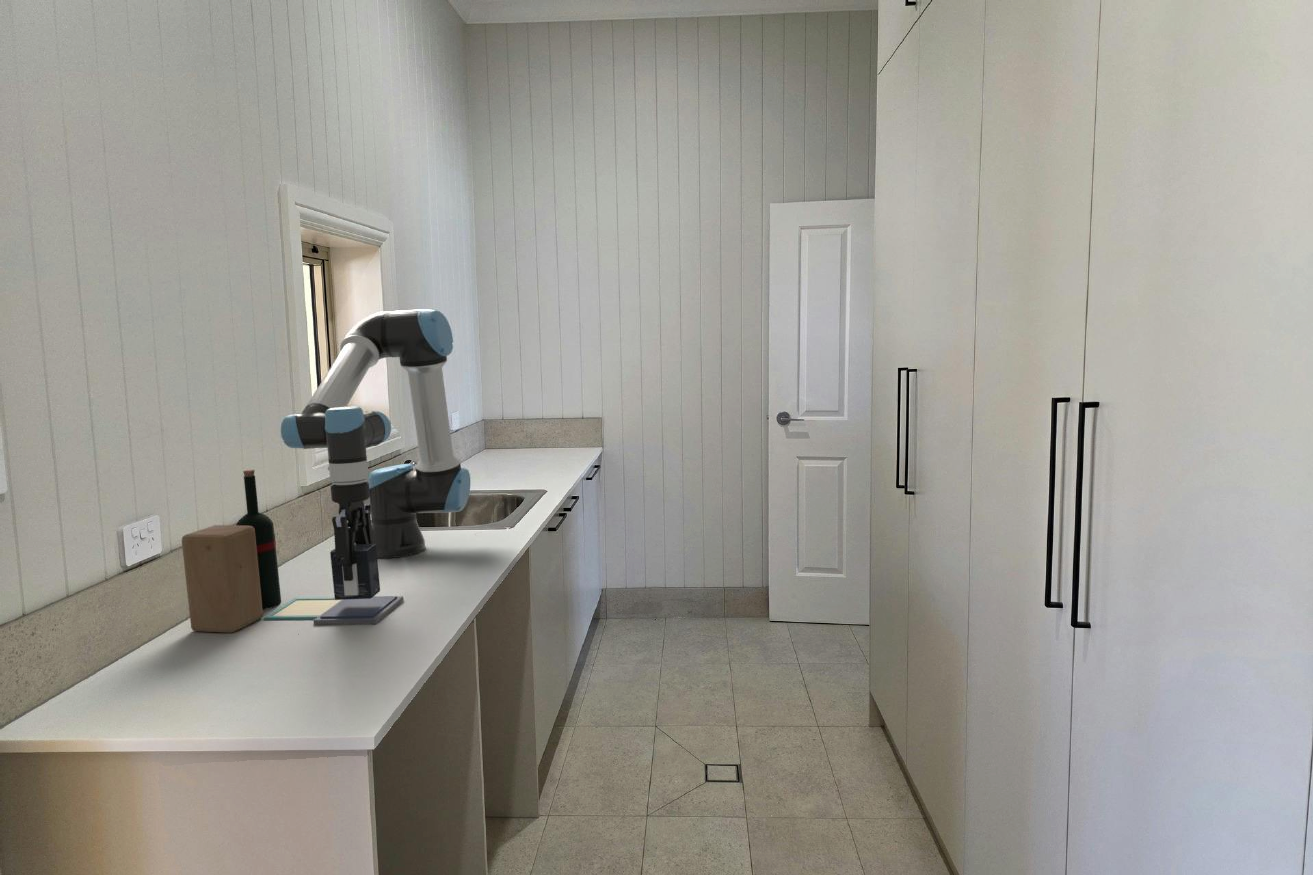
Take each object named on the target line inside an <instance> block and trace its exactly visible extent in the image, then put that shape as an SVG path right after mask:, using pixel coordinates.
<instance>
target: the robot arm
mask: <svg viewBox="0 0 1313 875" xmlns="http://www.w3.org/2000/svg"><path fill="white" fill-rule="evenodd" d="M453 343H454V338H453V333H452V328H451V325H450V323H449V320H448V319H447V317H446V316H445V315H444V313H442V312H441V311H439V310H437V309H423V308H422V309H421V308H419V309H408V310H394V311H391V310H386V311H379V312H376V313H373V314H371V315H369V316H368V317H365V318H364V319H362V320H361V321H359V322H358V323H357V324H356V325H355V326H353V327H352V329H350V330H349V332H348V333H346V335H345V336H344V337H343V340H342V341H341V343H340V347H339V348H340V349H339V350H340V351H339V353H338V355H337V357H336V358H335V360H334V361H333V363H332V364H331V366H330V367H329V370H328V371H327V373H326V374H325V376H324V378H323V379H322V380H321V382H320V384H319V385H318V387H317V388H316V390H315V391H314V393H313V395H312V396H311V398H310V400H309V401H308V402H307V404H306V406H305V407H304V408H303V410H302V411H301V413H299V414H298V413H294V414H288V415H286V416H285V417H284V418H283V419H282V421H281V425H280V436H281V439H282V440H283V443H284V444H285V446H287V447H288V448H291V449H303V450H308V449H327V458H328V459H327V460H328V467H327V471H329V481H330V482H331V483H332V484H331V485H330V496H331V501H332V502H333V503H337V504H338V515H337V516H332V518H331V522H332V526H333V534H334V536H333V537H334V549H335V554H336V564H337V565H342V569H343V581H344V593H345V596H347V595H359V589H358V577H357V564H354V552H355V544H376V549H377V559H381V558H382V559H389V558H390V559H391V558H401V557H407V556H411V555H415V554H418V553H420V552H423V551H424V550H426V542H425V538H424V535H423V533H422V530H421V528H420V526H419V524H418V521H417V514H424V513H425V514H428V513H429V514H431V513H433V514H434V513H435V514H436V513H437V514H439V513H441V514H443V513H444V514H448V513H457V512H458V513H459V512H461V511H462V510H463V509H464V508H465V507H466V505H467V502H468V500H469V496H470V494H471V493H470V492H471V491H470V490H471V473H470V471H469V469H467V468H465V467H461V460H460V459H459V458H458V457H457V456H455V455H454V451H453V442H452V434H451V426H450V419H449V418H450V417H449V410H448V403H447V397H446V396H447V395H446V388H445V382H444V373H443V367H444V365H446V363H447V362H448V356H449V355H451V354H452V352H453V349H454V348H453V347H454V344H453ZM384 358H385V359H386V358H398V359H399V363H400V367H401V368H403V369H404V370H405V371H406V372H407V376H408V384H409V390H410V398H411V404H412V411H413V418H414V426H415V431H416V439H417V447H418V453H419V460H418V462H417V463H416V465H415V468H414V466H413V464H412V463H403V464H396V465H391V466H386V467H382V468H377V469H375V470H373V471H371V472H370V473H369V467H368V457H367V456H368V455H367V448H371V447H375V446H376V447H377V446H378V445H380V444H382V443H384V442H385V441H387V440H388V439H389V437H390V435H391V432H392V425H391V420H390V418H389V417H388V416H387V415H386V414H385V413H384V412H381V411H377V410H367V411H363V409H362V408H361V407H360V406H354V405H353V406H349V403H350V401H351V400H352V398H353V396H354V395H355V393H356V392H357V390H358V388H359V386H360V385H361V382H362V381H363V379H364V377H365V376H366V374H367V372H368V371H369V369H370V368H373V367H374V366H376V365H377V364H378V362H379V360H381V359H384ZM368 499H369V504H365V502H364V501H366V500H368Z"/></svg>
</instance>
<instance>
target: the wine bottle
mask: <svg viewBox="0 0 1313 875" xmlns="http://www.w3.org/2000/svg"><path fill="white" fill-rule="evenodd" d="M243 481H244V482H243V483H244V484H243V485H244V492H245V503H246V514H244V515H242V517H240V518H239V519H238V521H237V522H236V524H235V525H241V526H252V527H254V529H255V537H256V548H257V558H258V568H259V578H260V588H261V599H262V609H263V611H264V610H268V609H273V608H275V607H277V606H279V605H280V604H281V603H282V593H281V585H280V575H279V574H280V573H279V566H278V556H277V555H278V554H277V547H276V545H277V543H276V534H275V527H274V522H273V521H272V519H271V518H270V517H269V516H268V515H266V514H264V513H262V512H259V505H258V504H259V503H258V493H257V483H256V481H257V480H256V475H255V469H247V470H243Z"/></svg>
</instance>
